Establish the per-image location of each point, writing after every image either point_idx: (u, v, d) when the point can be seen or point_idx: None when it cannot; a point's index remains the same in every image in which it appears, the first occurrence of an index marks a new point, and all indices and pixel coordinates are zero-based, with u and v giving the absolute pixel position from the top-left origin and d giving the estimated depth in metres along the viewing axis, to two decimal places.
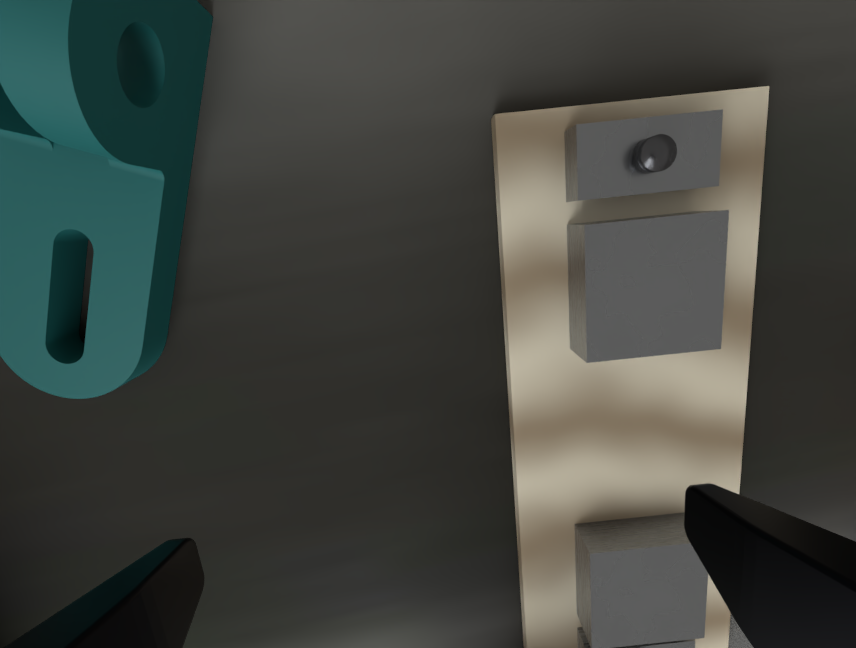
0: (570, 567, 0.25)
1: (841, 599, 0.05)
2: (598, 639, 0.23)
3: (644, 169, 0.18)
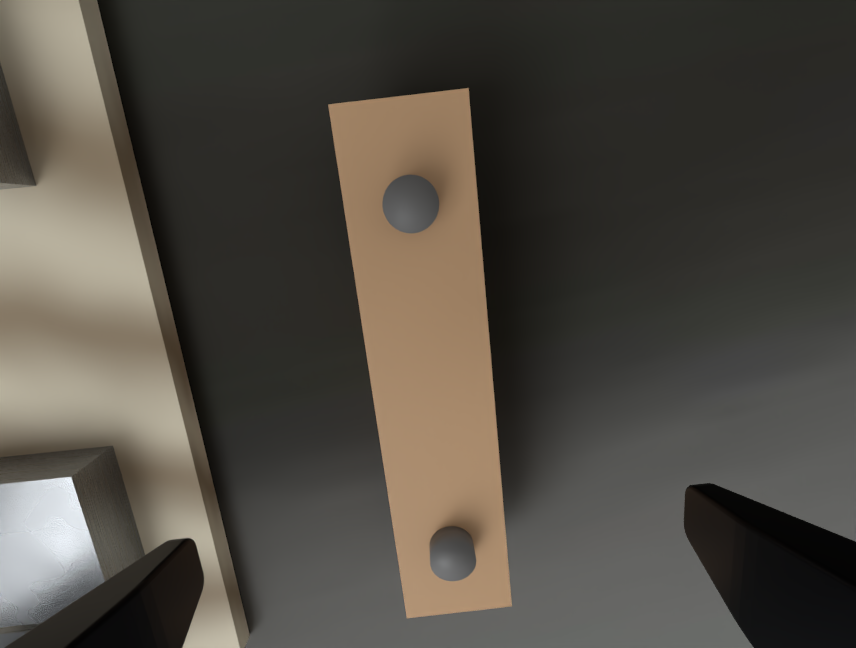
0: None
1: (841, 599, 0.05)
2: None
3: None
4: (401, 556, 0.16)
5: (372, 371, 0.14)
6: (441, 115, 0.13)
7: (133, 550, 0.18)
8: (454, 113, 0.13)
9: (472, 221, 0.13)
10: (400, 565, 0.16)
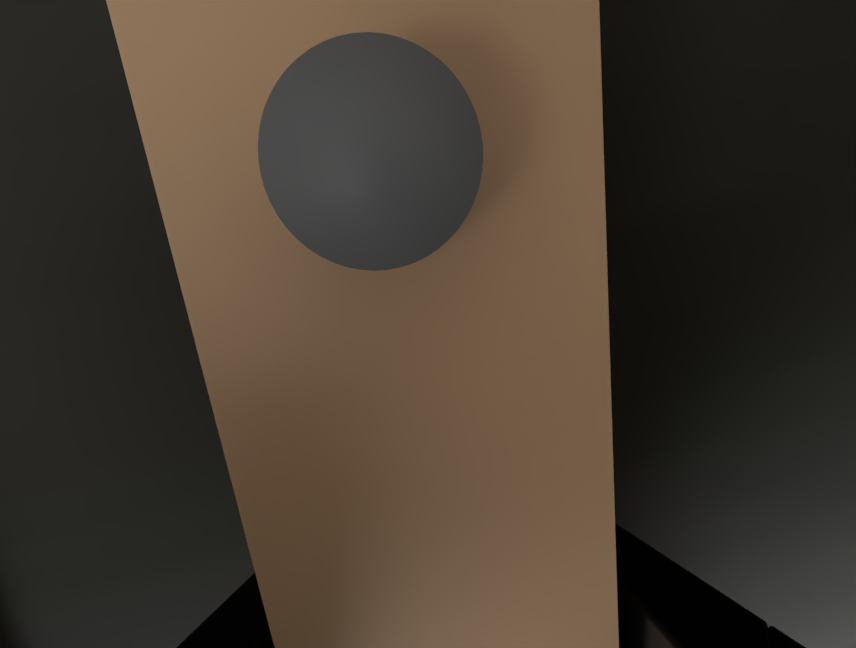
0: None
1: (636, 620, 0.05)
2: None
3: None
4: None
5: None
6: None
7: None
8: None
9: (582, 222, 0.04)
10: None
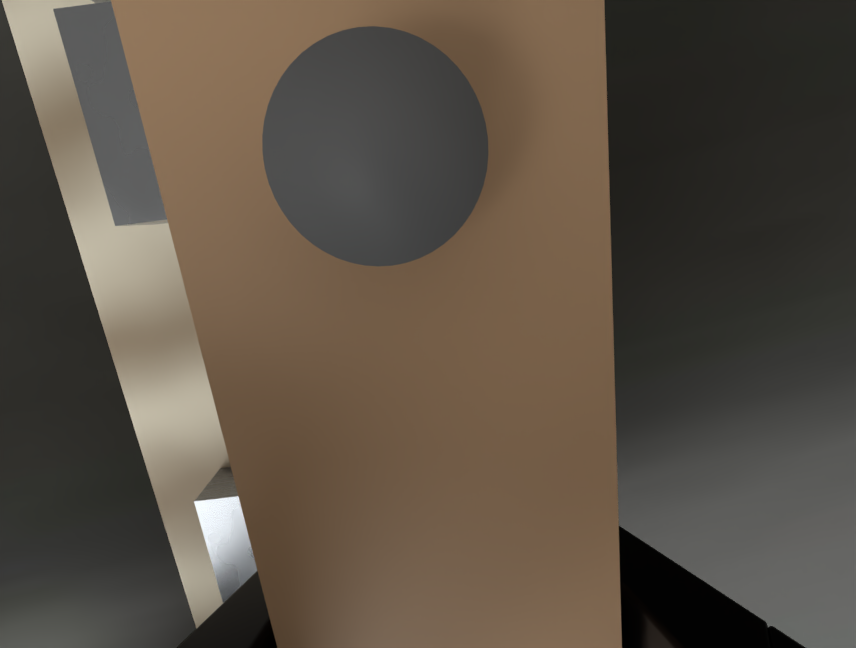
0: None
1: (635, 621, 0.05)
2: None
3: None
4: None
5: (286, 647, 0.05)
6: None
7: None
8: None
9: (586, 219, 0.04)
10: None
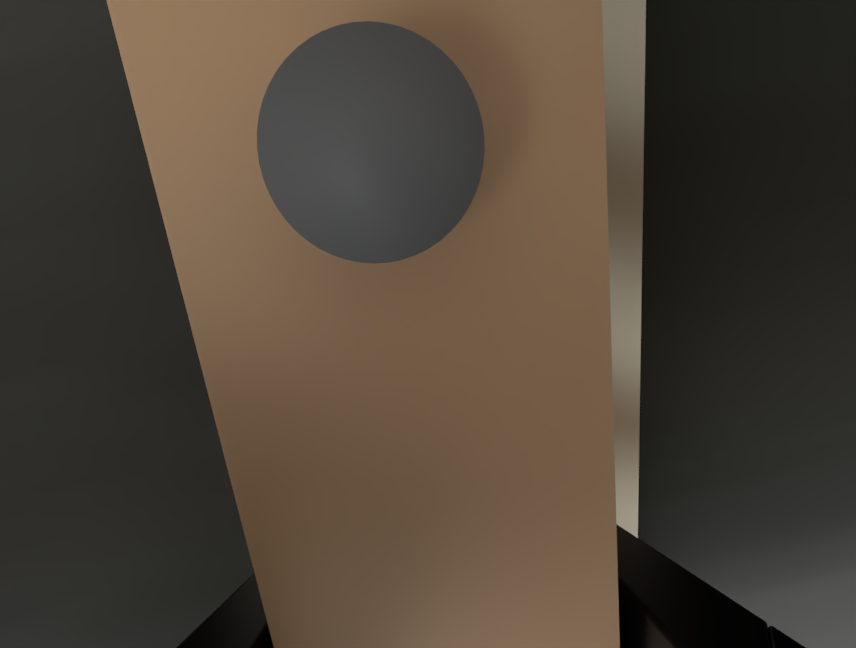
0: None
1: (635, 620, 0.05)
2: None
3: None
4: None
5: (282, 647, 0.05)
6: None
7: None
8: None
9: (584, 216, 0.04)
10: None
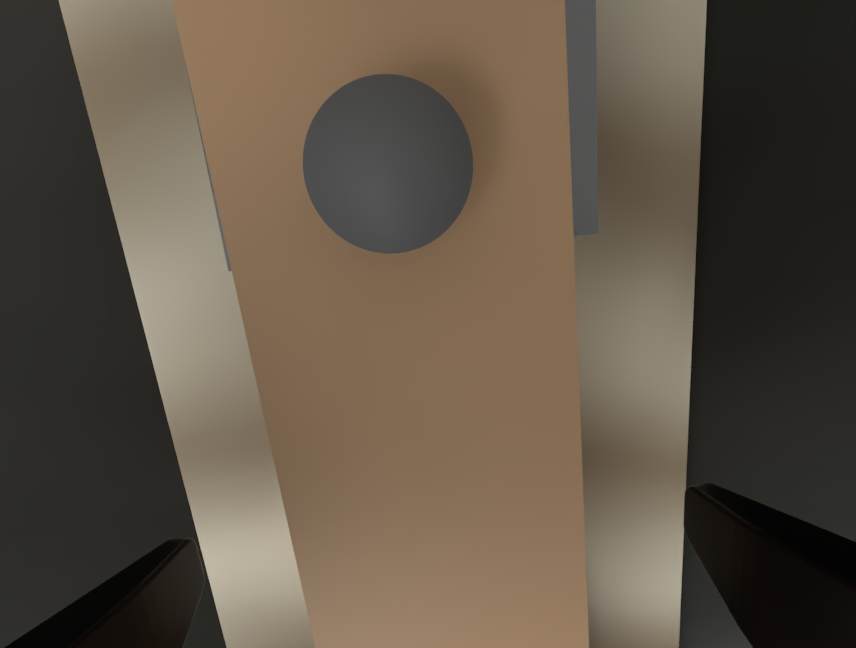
0: None
1: (840, 599, 0.05)
2: None
3: None
4: None
5: (306, 573, 0.06)
6: None
7: None
8: None
9: (554, 218, 0.05)
10: None
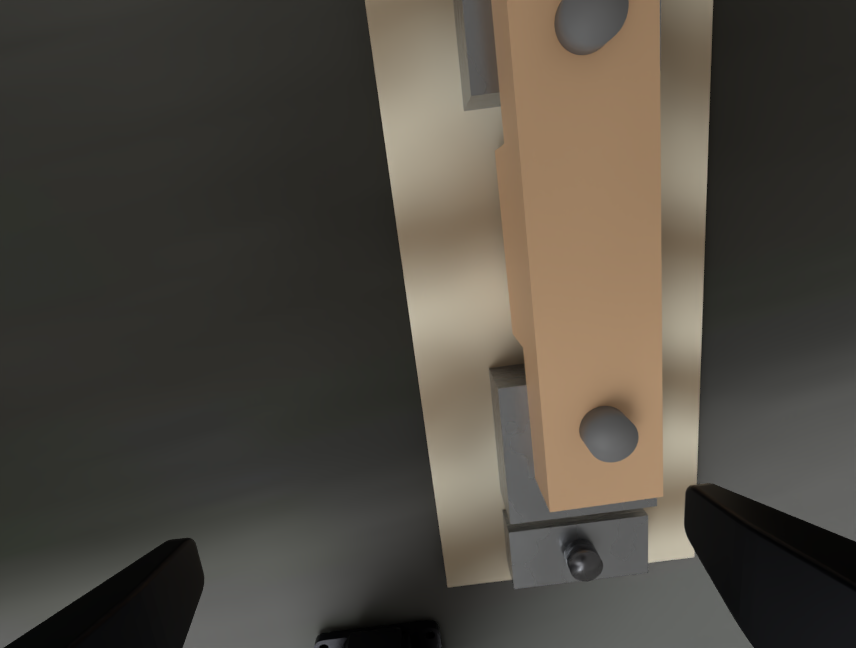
0: (488, 428, 0.19)
1: (841, 599, 0.05)
2: (518, 510, 0.18)
3: None
4: (548, 441, 0.15)
5: (529, 225, 0.13)
6: None
7: None
8: None
9: (651, 40, 0.12)
10: (546, 452, 0.15)
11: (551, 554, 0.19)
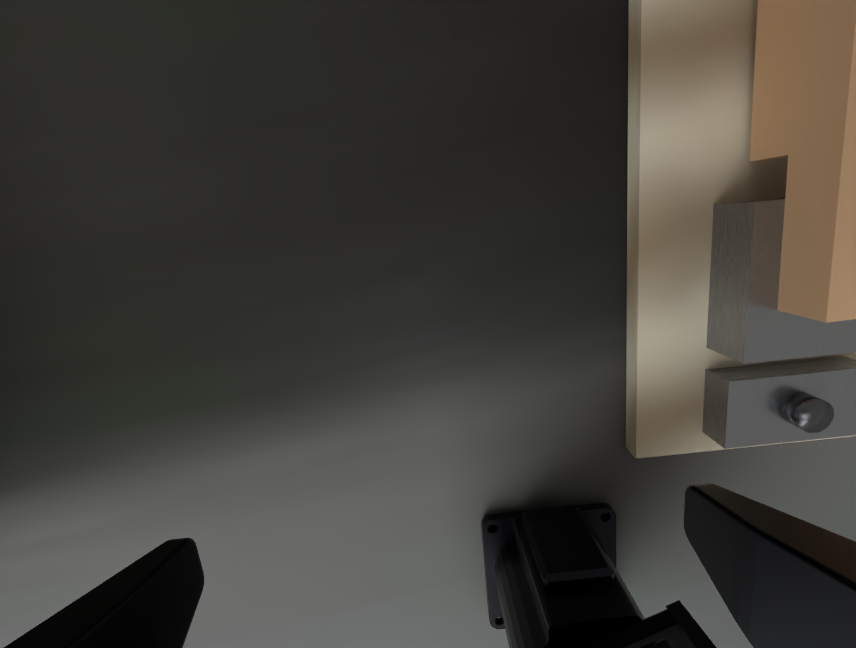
0: (703, 274, 0.18)
1: (841, 599, 0.05)
2: (754, 346, 0.17)
3: None
4: (839, 236, 0.14)
5: None
6: None
7: None
8: None
9: None
10: (834, 249, 0.14)
11: (769, 409, 0.18)
